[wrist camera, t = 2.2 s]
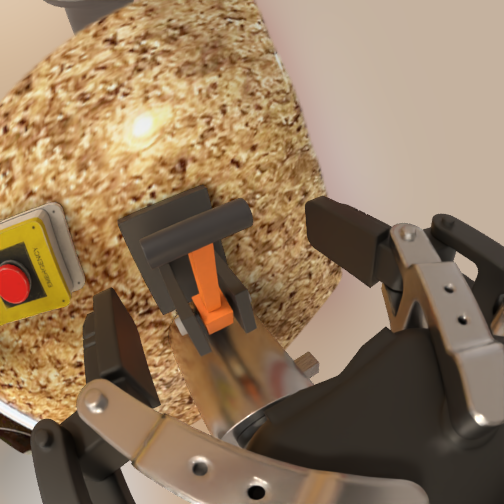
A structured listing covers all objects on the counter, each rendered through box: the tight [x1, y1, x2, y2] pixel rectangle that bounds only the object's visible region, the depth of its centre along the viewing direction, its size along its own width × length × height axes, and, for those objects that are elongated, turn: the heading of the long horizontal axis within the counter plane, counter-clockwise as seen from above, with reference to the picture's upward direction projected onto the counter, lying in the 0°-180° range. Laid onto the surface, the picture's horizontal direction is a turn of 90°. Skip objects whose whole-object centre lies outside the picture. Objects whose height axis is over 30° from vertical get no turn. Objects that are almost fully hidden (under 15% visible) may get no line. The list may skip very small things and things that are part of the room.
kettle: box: [168, 302, 319, 449], centre depth 30 cm, size 14×14×17 cm
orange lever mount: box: [117, 185, 257, 357], centre depth 24 cm, size 12×9×12 cm
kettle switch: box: [140, 198, 253, 335], centre depth 16 cm, size 12×5×2 cm, turn 11°
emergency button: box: [0, 202, 85, 326], centre depth 17 cm, size 9×4×15 cm
